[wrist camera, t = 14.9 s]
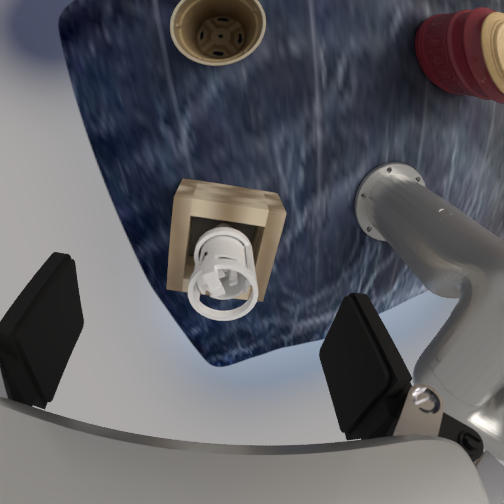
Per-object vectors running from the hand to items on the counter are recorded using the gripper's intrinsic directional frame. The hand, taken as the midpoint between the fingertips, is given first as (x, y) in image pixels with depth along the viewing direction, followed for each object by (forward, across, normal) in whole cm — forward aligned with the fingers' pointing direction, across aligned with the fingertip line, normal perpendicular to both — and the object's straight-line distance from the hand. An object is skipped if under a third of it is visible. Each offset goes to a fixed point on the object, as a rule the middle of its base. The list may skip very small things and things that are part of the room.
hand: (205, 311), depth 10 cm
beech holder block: (+32, -2, +12) cm, 35 cm away
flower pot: (+32, +3, -14) cm, 36 cm away
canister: (+32, -29, -23) cm, 49 cm away
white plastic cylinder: (+31, -2, +12) cm, 33 cm away
